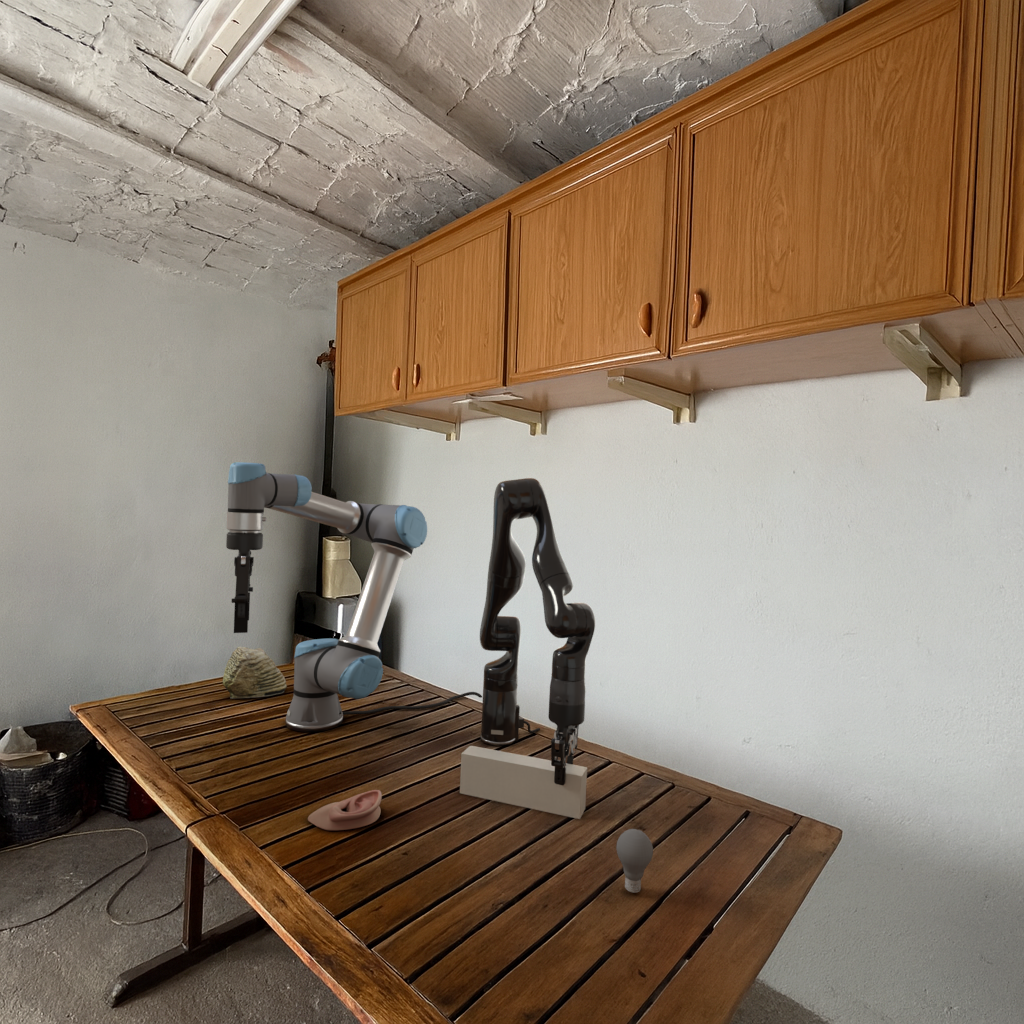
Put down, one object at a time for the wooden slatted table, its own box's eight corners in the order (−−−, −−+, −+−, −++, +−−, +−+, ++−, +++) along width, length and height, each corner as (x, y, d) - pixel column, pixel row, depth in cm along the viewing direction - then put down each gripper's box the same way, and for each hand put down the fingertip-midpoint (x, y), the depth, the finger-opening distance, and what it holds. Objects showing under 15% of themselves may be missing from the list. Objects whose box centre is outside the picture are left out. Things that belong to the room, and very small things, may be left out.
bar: (459, 794, 138) (461, 753, 138) (468, 785, 143) (470, 745, 143) (579, 820, 129) (581, 776, 129) (585, 810, 134) (587, 767, 134)
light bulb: (610, 879, 108) (613, 822, 108) (644, 879, 109) (647, 822, 109) (619, 902, 102) (622, 840, 102) (655, 901, 103) (658, 840, 103)
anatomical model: (300, 805, 121) (329, 780, 132) (299, 826, 121) (328, 798, 133) (364, 815, 119) (388, 788, 130) (363, 836, 119) (387, 807, 130)
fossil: (218, 695, 195) (220, 647, 195) (278, 685, 208) (279, 640, 207) (228, 703, 189) (230, 653, 188) (289, 692, 201) (290, 645, 201)
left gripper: (263, 535, 131) (259, 637, 132) (263, 528, 154) (260, 615, 155) (223, 535, 129) (219, 639, 129) (229, 528, 152) (226, 616, 152)
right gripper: (576, 711, 125) (572, 796, 125) (592, 691, 138) (588, 768, 138) (539, 705, 127) (536, 788, 127) (559, 686, 141) (555, 762, 141)
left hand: (241, 626), depth 142 cm, fingers open, 13 cm apart
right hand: (563, 777), depth 133 cm, fingers open, 5 cm apart
